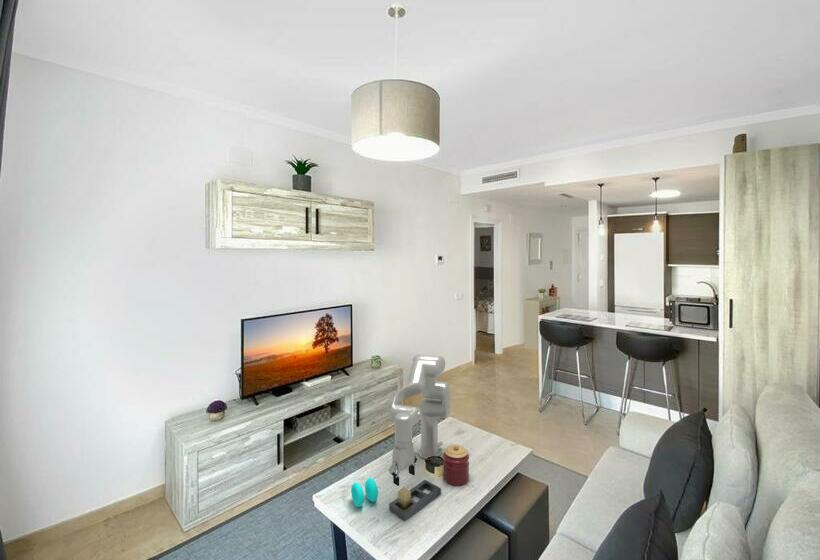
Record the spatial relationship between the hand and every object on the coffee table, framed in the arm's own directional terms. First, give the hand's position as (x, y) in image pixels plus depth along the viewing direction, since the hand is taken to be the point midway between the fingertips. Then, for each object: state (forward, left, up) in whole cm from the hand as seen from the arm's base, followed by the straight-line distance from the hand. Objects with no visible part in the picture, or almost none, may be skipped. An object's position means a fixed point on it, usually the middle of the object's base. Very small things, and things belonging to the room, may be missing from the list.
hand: (404, 479), depth 163 cm
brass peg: (0, 0, -14) cm, 14 cm away
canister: (-34, +3, -15) cm, 37 cm away
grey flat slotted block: (-7, 0, -14) cm, 16 cm away
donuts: (+9, -17, -15) cm, 24 cm away
